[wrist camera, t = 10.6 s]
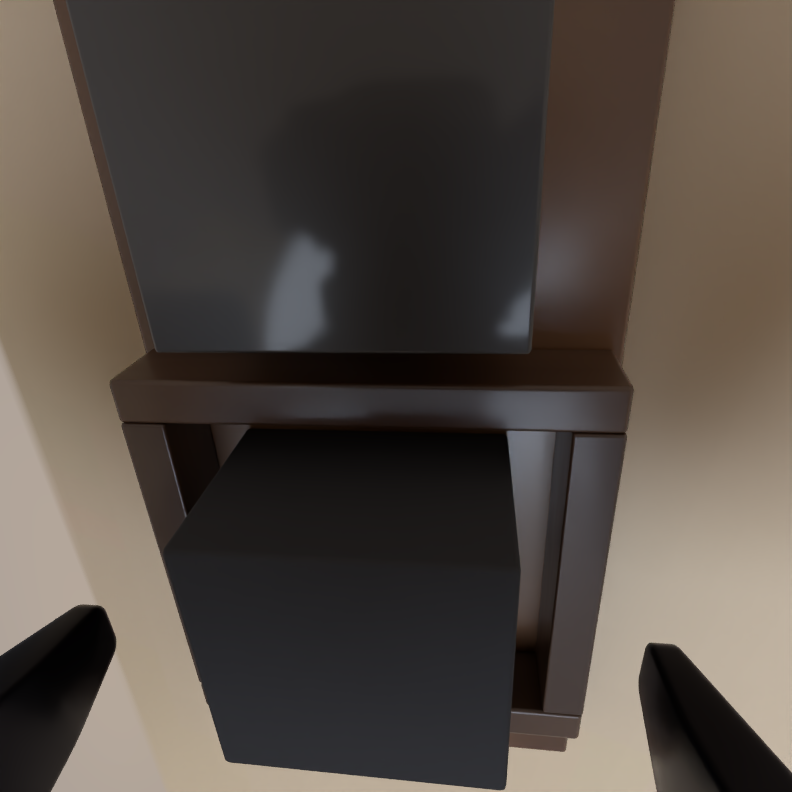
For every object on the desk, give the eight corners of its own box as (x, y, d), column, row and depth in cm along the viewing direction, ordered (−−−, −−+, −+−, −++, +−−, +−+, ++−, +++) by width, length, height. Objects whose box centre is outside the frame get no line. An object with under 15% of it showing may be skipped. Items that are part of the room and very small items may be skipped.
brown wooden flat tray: (257, 683, 17) (204, 825, 13) (69, -114, 8) (-185, -252, 5) (559, 709, 15) (582, 871, 12) (677, -182, 7) (840, -415, 4)
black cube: (282, 610, 13) (224, 763, 10) (246, 426, 11) (158, 551, 8) (498, 625, 13) (506, 793, 10) (507, 432, 10) (521, 570, 7)
